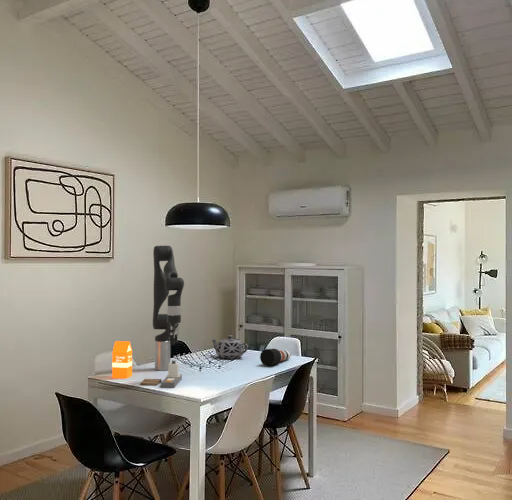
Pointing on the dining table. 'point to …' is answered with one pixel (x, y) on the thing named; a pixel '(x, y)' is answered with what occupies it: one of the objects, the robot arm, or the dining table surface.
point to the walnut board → (150, 382)
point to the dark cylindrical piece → (273, 356)
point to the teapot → (229, 348)
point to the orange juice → (122, 360)
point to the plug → (173, 369)
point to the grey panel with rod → (171, 381)
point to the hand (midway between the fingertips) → (173, 343)
